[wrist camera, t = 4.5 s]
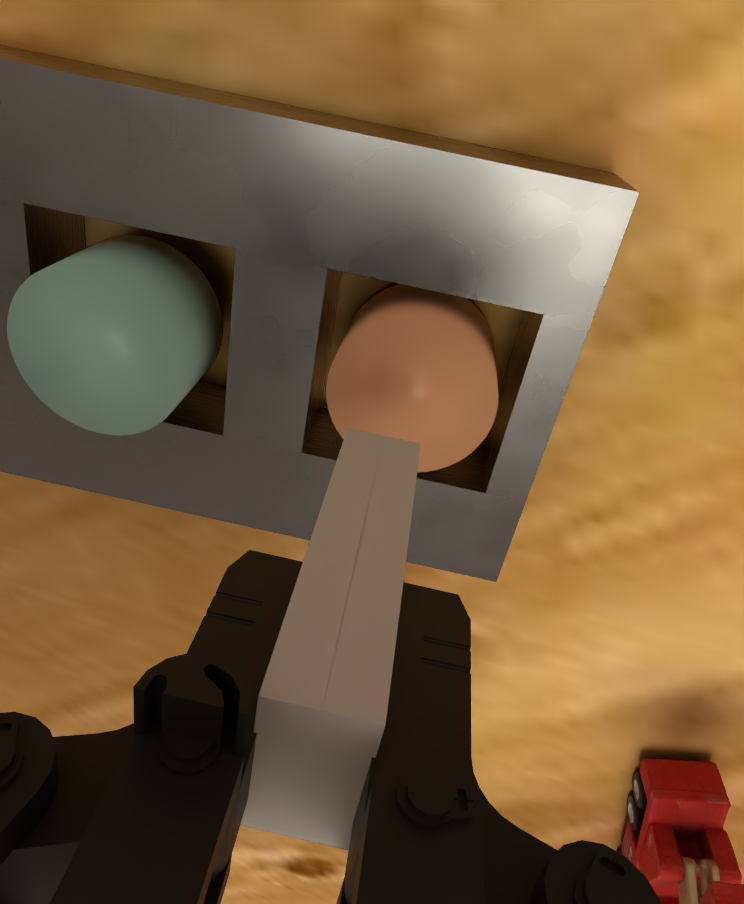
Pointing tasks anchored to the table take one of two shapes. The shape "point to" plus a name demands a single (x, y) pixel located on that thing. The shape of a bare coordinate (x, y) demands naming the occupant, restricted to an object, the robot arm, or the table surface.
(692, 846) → the toy fire truck
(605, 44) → the table surface
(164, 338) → the button teal
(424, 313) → the button terracotta
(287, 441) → the panel
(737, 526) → the table surface
